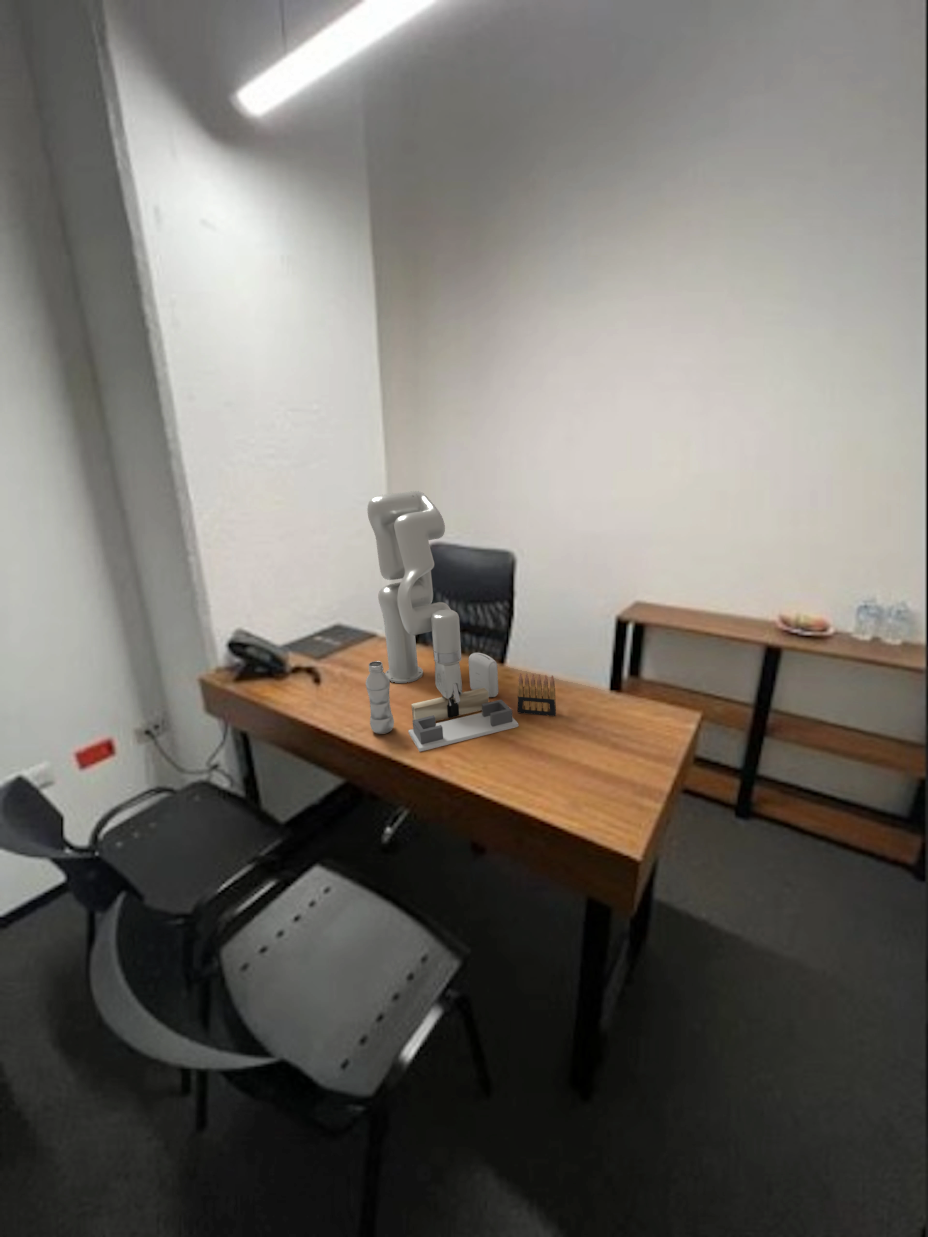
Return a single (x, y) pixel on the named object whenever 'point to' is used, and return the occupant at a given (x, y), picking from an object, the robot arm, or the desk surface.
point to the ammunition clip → (536, 696)
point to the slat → (438, 706)
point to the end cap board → (462, 726)
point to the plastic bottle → (379, 699)
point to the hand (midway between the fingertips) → (451, 713)
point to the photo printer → (483, 673)
